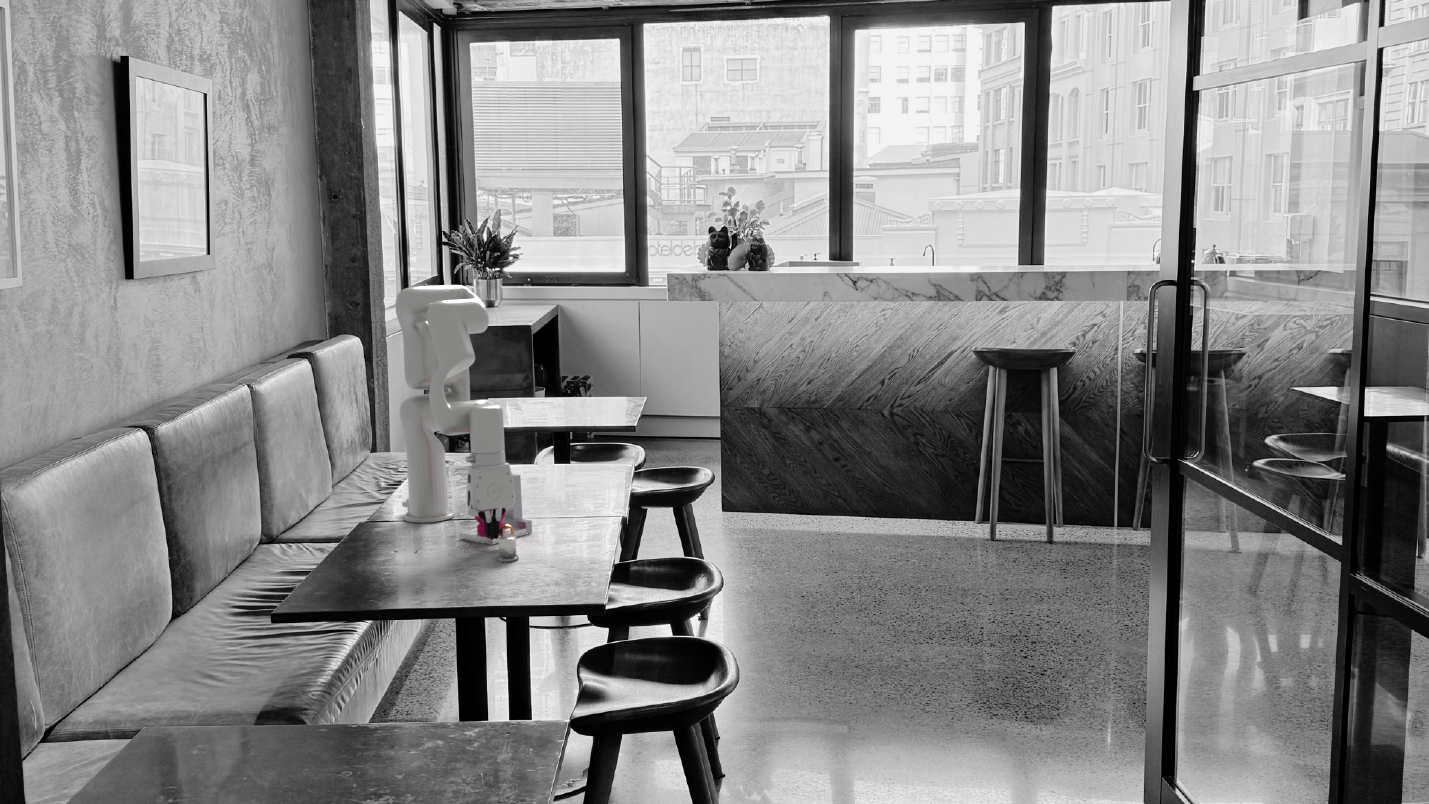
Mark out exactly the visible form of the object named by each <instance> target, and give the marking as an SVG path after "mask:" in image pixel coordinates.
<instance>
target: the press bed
mask: <svg viewBox="0 0 1429 804" xmlns="http://www.w3.org/2000/svg"><path fill="white" fill-rule="evenodd" d="M512 479H513V485H514V493H515V503H514V504H513V506H514V508H513V509H512V510H509V511H507V512H505V517H504V519H503V520H502V522H501V523H503V524H510V525H511V526H512V527H513V528H514V534H513V536H514V537H517V538H519V537H518V536H520V537H523V536H525V534H526V535H528V534H527V533H530V534H532V533H533V521H532V520H530V519H524V518H523V504H522V503H523V502H522V482H521V474H516V473H512ZM500 537H501V536H500V534H498V539H495V538H494V539H492V540H491V539H489V538H487V537H486V535H480V534H478V533H477V527H475V528H472V529H467V530H465V531H461V532H459V540H462V539H466V540H465V541H468V540H470V541H469V542H473V543H474V542H475V543H479V542H483V543H482V544H485V543H487V544H486V545H491V544H492V546H493V544H494V545H497V544H499V543H498V542H499V538H500ZM496 543H497V544H496ZM497 560H499V561H501V562H500V563H504V562H507V563H514V562H517V561H519V555H518V554H517V555H516V556H515V557H512V558H501V557H500V555H499V556H498V557H497ZM516 560H517V561H516ZM499 561H498V562H499ZM513 561H514V562H513Z"/></svg>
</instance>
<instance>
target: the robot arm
mask: <svg viewBox="0 0 1429 804" xmlns="http://www.w3.org/2000/svg"><path fill="white" fill-rule="evenodd" d="M395 298H396V299H395V313H396V314H395V315H396V317H397V321H398V324H399V327H400V329H401V333H402V338H403V339H402V341H403V362H404V363H403V364H404V365H403V366H404V368H403V369H404V377H405V382H406V385H407V386H408V388H410V389H412V390H416V391H425V390H426V391H427V390H429V393H425V394H417V395H412V396H409V397H408V398H405V399H404V400H403V401H402V402H401V404H400V405H399V406H400V407H399V416H400V422H401V426H402V430H403V436H404V442H405V452H406V454H405V455H406V467H407V468H406V469H407V470H406V471H407V483H408V498H407V499H406V500H405V501H403V502H401V503H402V504H401V505H402V507H403V508H407V512H406V513H404V515H403V519H404V521H406V522H409V523H414V524H415V523H417V524H420V523H423V524H424V523H425V524H426V523H428V524H429V523H436V522H442V521H446V520H447V521H448V520H450V519H452V518H454V516H456V512H455V510H454V509H453V508H449V501H448V500H449V499H448V498H449V497H448V484H447V483H448V482H447V480H448V478H447V467H446V465H447V464H446V450H445V447H444V444H443V443H442V441H440V439H439V438H438V437H437V436H436V435H435V432H439V433H440V434H442V435H444V436H458V435H465V434H469V440H470V443H469V444H470V454H469V455H468V456H466V457H465V462H466V463H470V464H471V465H469V466H468V472H467V479H466V480H467V481H466V504H467V507H468V510H467V515H468V516H470V517H474V516H477V517H480V518H481V519H482V520H483V521H484V531H485V535H486V537H487V538H489V539H491V540H492V539H494V538H495V539H498V534H499V533H500V531H499V521H500V520H501V517H502V516H503V514H504V513H505V512H507V511H509V510H512V509H513V508H514V506H513V504H514V503H515V493H514V485H513V479H512V474H513V473H512V469H511V465H510V463H509V462H506V450H505V449H506V448H505V430H504V428H505V426H504V411H503V408H502V407H501V405H499V404H496V403H493V402H492V401H491V400H489V399H483V398H482V399H473V400H471V387H470V385H471V384H470V383H471V380H470V368H469V367H471V366H472V365H473V364H474V363H475V360H476V355H475V352H474V351H475V350H474V348H473V344H472V341H471V338H470V334H471V335H472V334H473V335H474V334H481V333H484V332H485V331H486V330H487V329H488V327H489V322H490V320H489V319H490V317H489V311H488V310H487V307H486V305H485V303H484V302H483V301H482V300H481V298H480V297H479V296H478V295H476V294H475V293H474V292H472V290H471V289H469V288H468V287H466V286H464V285H460V284H442V285H418V286H411V287H406V288H404V289H403V288H402V290H400V291H399V292H398V293H397V295H396V297H395ZM445 389H447V391H448V392H445ZM490 510H492V514H491V515H490Z"/></svg>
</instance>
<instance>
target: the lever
mask: <svg viewBox="0 0 1429 804" xmlns="http://www.w3.org/2000/svg"><path fill="white" fill-rule="evenodd" d="M499 531H500V533H499V534H500V536H501V537H500V538H499V543H498V544H499V547H498V548H499V556H500V557H501V558H512V557H515V556H516V555H518V554H517V539H516V537H514V536H513V534H514V528H513V527H512V526H511V525H510V524H504V525H502V526H501V527H500V529H499Z"/></svg>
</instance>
